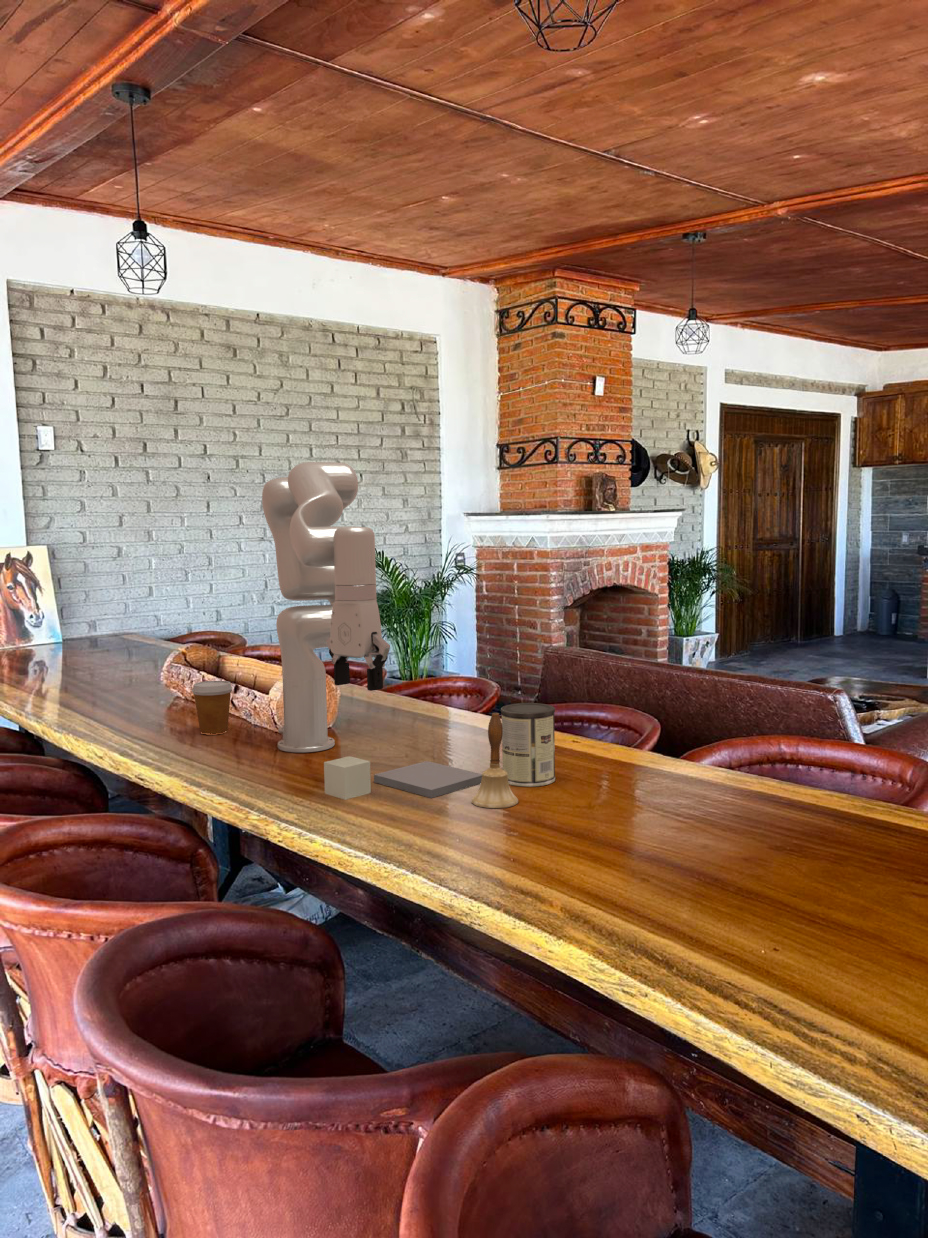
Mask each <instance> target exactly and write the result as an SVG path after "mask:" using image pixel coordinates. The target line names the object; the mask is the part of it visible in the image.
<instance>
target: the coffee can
mask: <svg viewBox="0 0 928 1238" xmlns="http://www.w3.org/2000/svg"><path fill="white" fill-rule="evenodd" d="M500 712H501V723H502V727H503V735H502V741H501V746H502V747H501V748H502V749H501V750H502V751H501V752H502V770H504V771H506V772H507V775H508V782H509V786H515V787H527V788H528V787H529V788H533V787H543V786H546V785H551V784H552V783H554V782H555V781H556V769H555V768H556V764H555V763H556V761H555V760H556V759H555V758H556V756H555V755H556V754H555V752H556V750H555V746H556V745H555V744H556V743H555V742H556V741H555V735H556V734H555V712H556V707H554V706H553V705H550V704H546V703H540V702H539V703H537V702H519V703H511V704H507V705H503V706H501V708H500Z"/></svg>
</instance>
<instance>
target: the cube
mask: <svg viewBox="0 0 928 1238" xmlns="http://www.w3.org/2000/svg"><path fill="white" fill-rule="evenodd" d="M323 775H324V776H323V777H324V780H323V781H324V782H323V783H324V794H325V795H327V796H332V797H334V798H338V799H340V800H344V801H345V800H351V799H353V798H357V797H361V796H365V795H368V794H371V792H372V791H371V789H372V788H371V787H372V786H371V785H372V783H371V780H372V779H371V761H370V760H366V759H363V758H362V759H361V758H358V757H355V756H350V755H348V756H344V757H341V758H336V759H332V760H327V761H324V762H323Z"/></svg>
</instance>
